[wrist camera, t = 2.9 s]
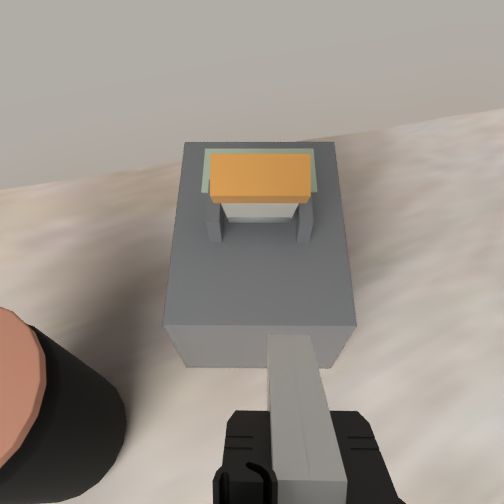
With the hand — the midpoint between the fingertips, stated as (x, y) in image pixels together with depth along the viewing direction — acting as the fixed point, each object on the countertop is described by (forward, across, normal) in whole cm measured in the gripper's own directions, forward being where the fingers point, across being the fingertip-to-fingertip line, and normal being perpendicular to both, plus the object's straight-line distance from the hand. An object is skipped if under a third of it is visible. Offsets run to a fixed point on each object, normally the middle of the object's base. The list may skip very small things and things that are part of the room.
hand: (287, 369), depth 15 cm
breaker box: (+29, -1, -7) cm, 30 cm away
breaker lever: (+20, -1, +3) cm, 20 cm away
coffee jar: (+18, -18, -18) cm, 31 cm away
